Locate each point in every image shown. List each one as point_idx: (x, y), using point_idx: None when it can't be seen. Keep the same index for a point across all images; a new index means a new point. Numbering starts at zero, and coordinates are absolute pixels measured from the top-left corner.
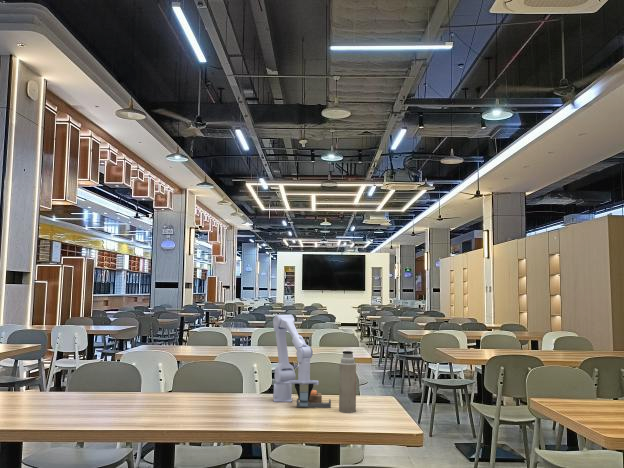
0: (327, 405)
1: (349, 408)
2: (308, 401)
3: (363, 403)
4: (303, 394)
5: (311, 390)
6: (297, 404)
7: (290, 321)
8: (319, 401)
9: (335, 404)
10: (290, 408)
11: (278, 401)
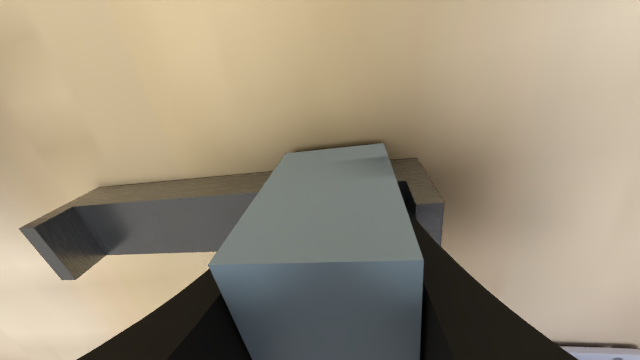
0: (103, 195)
1: None
2: None
3: (16, 325)
4: (321, 238)
5: (97, 349)
6: (414, 172)
7: None
8: None
9: (134, 298)
10: (502, 85)
11: (591, 347)
